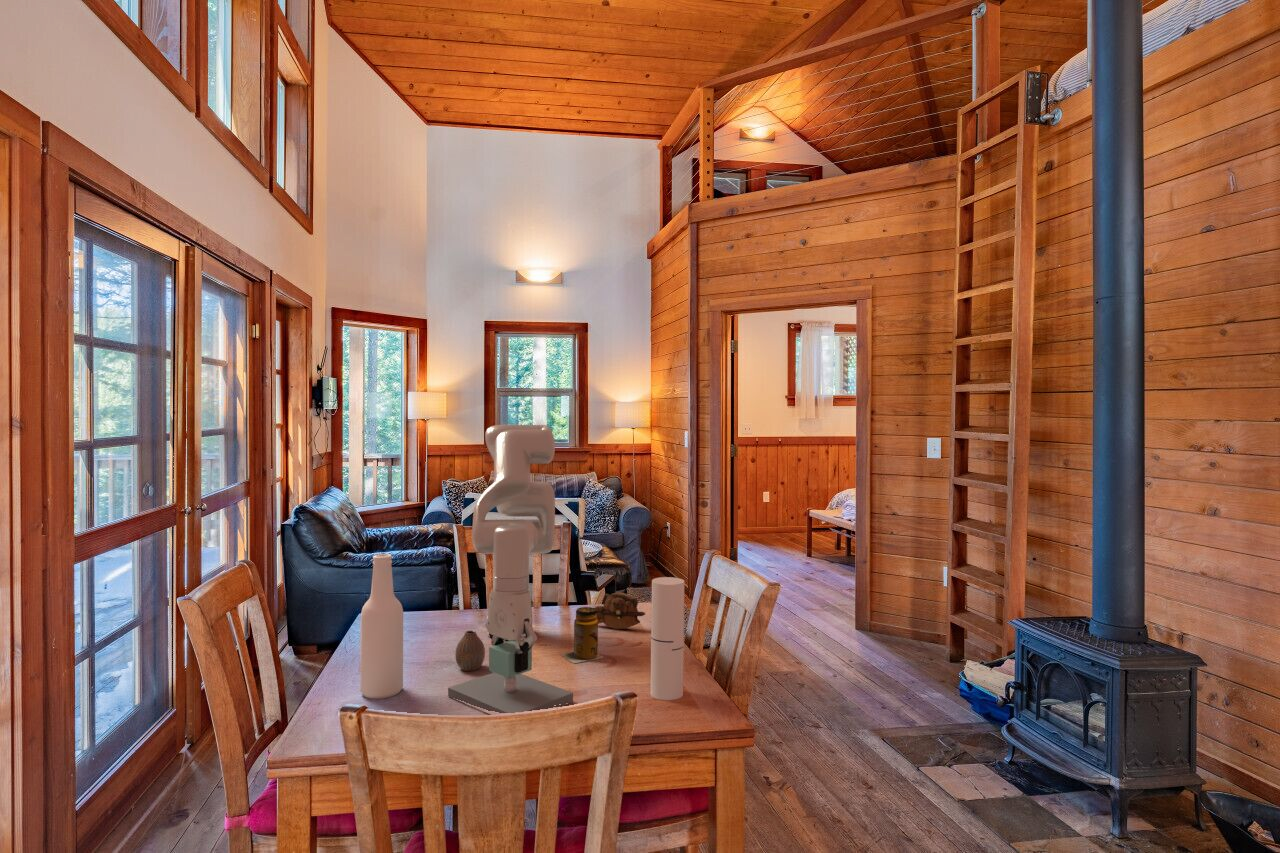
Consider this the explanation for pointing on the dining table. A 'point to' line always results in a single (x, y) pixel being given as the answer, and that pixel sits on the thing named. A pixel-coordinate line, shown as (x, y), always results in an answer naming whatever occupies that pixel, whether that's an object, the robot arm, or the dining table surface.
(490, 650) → the seafoam cuboid
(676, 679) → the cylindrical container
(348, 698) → the dining table surface
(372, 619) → the alcohol
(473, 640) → the vase
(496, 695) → the post base
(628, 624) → the wooden carving
